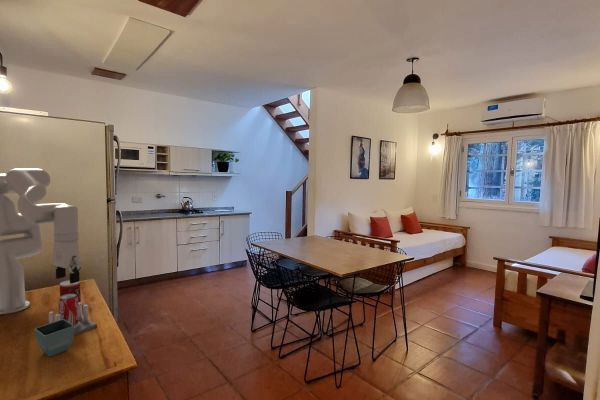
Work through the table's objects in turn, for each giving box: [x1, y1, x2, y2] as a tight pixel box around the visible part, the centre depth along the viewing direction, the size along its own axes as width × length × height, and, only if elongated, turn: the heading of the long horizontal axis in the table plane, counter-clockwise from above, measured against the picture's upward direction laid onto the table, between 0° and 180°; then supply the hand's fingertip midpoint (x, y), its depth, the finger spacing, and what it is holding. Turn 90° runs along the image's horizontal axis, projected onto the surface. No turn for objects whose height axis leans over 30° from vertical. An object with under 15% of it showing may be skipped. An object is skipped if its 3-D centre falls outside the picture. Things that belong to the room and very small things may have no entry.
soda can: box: [57, 294, 78, 326], centre depth 125 cm, size 6×6×12 cm
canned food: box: [59, 279, 82, 303], centre depth 146 cm, size 8×8×11 cm
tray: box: [39, 302, 98, 337], centre depth 125 cm, size 16×13×8 cm
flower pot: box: [33, 319, 74, 357], centre depth 109 cm, size 9×9×9 cm
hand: (67, 280), depth 124 cm, fingers open, 9 cm apart
